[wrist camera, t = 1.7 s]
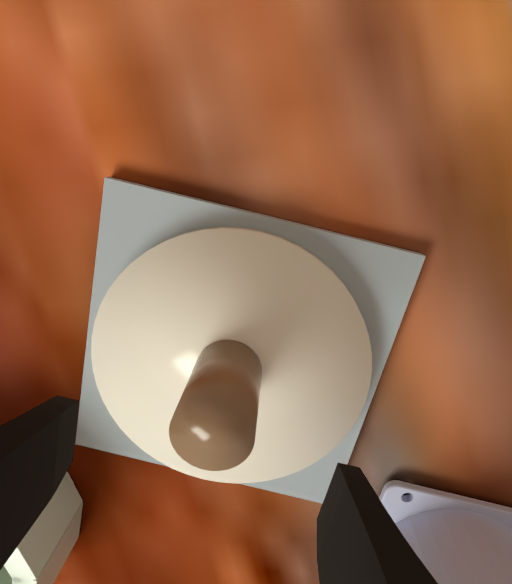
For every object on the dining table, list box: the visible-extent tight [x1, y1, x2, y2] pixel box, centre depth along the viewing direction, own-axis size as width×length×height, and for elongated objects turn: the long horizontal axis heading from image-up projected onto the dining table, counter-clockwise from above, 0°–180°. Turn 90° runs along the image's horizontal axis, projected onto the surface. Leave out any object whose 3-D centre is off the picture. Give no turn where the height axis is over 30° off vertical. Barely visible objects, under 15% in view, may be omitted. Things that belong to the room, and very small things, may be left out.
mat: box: [75, 177, 426, 504], centre depth 17 cm, size 12×12×1 cm
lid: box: [91, 226, 372, 483], centre depth 15 cm, size 11×11×5 cm
